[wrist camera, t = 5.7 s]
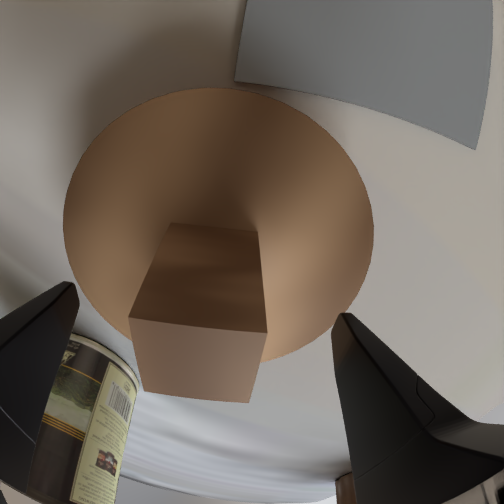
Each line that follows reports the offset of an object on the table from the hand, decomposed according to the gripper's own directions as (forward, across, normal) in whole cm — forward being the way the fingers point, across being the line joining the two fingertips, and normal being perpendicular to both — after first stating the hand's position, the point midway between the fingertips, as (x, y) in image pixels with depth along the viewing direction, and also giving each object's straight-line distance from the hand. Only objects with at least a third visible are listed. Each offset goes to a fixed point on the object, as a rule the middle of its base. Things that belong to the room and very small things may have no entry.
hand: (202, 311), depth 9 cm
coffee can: (+7, +11, +16) cm, 21 cm away
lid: (+4, 0, 0) cm, 4 cm away
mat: (+7, -7, -14) cm, 17 cm away
